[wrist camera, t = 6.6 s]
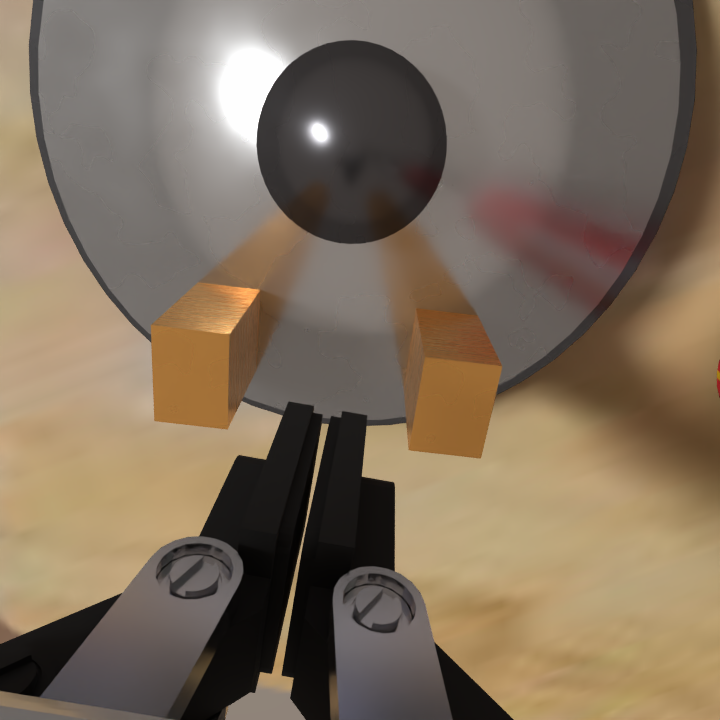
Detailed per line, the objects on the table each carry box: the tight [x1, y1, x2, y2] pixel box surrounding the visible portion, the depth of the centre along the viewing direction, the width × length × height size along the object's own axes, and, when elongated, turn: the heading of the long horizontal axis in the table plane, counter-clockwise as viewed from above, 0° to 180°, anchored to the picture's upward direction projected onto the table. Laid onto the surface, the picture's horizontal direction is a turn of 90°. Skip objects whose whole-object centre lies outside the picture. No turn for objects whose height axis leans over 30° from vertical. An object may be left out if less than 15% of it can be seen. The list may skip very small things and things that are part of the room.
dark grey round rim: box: [29, 0, 697, 426], centre depth 19 cm, size 21×21×2 cm
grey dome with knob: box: [38, 0, 680, 458], centre depth 15 cm, size 18×18×6 cm
